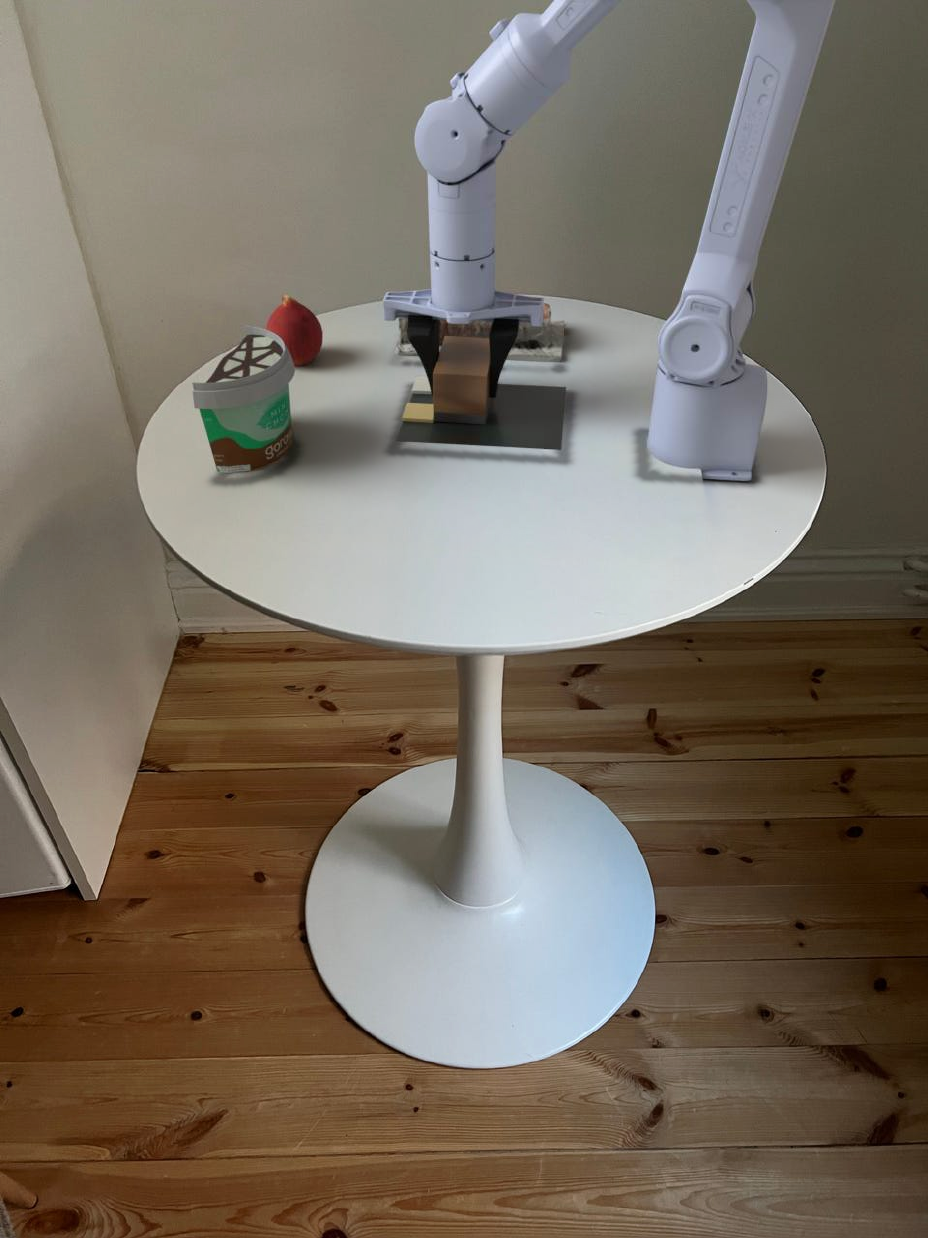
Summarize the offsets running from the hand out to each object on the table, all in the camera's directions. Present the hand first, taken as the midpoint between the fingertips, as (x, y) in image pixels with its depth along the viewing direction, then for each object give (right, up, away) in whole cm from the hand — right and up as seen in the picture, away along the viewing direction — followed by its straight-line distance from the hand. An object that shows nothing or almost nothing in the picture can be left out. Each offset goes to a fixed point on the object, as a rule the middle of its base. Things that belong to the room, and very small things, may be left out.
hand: (464, 391), depth 89 cm
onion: (-18, +5, +9) cm, 21 cm away
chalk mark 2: (-4, -2, -1) cm, 5 cm away
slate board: (+2, -3, 0) cm, 3 cm away
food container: (-18, -7, -4) cm, 20 cm away
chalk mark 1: (-4, +1, +4) cm, 5 cm away
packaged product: (+2, +8, +13) cm, 15 cm away
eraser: (0, -1, +1) cm, 1 cm away
